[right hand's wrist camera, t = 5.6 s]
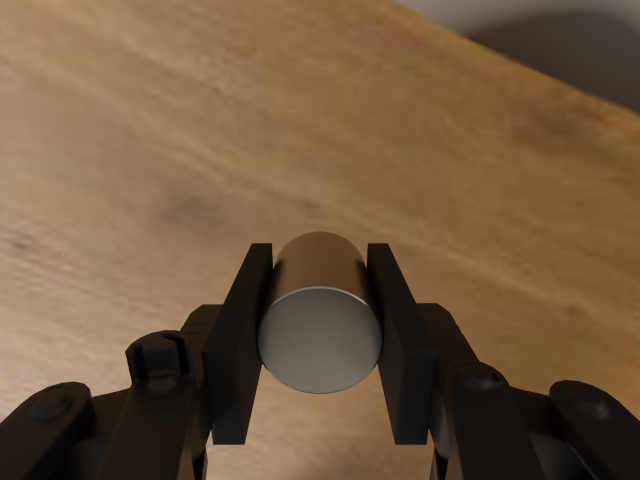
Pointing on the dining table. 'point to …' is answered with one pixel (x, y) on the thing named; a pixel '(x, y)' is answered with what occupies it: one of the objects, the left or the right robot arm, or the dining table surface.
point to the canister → (319, 316)
